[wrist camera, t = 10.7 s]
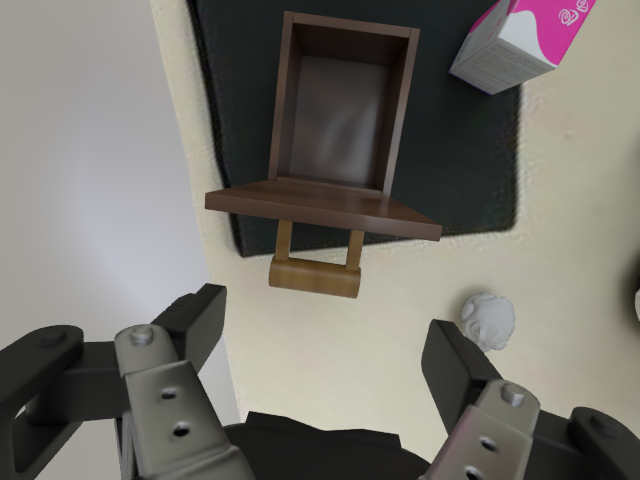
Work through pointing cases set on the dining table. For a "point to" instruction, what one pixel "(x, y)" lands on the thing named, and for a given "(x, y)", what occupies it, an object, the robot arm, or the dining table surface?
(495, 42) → the supplement box
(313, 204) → the lid
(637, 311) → the milk container
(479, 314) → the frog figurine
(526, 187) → the dining table surface
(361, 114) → the chest
